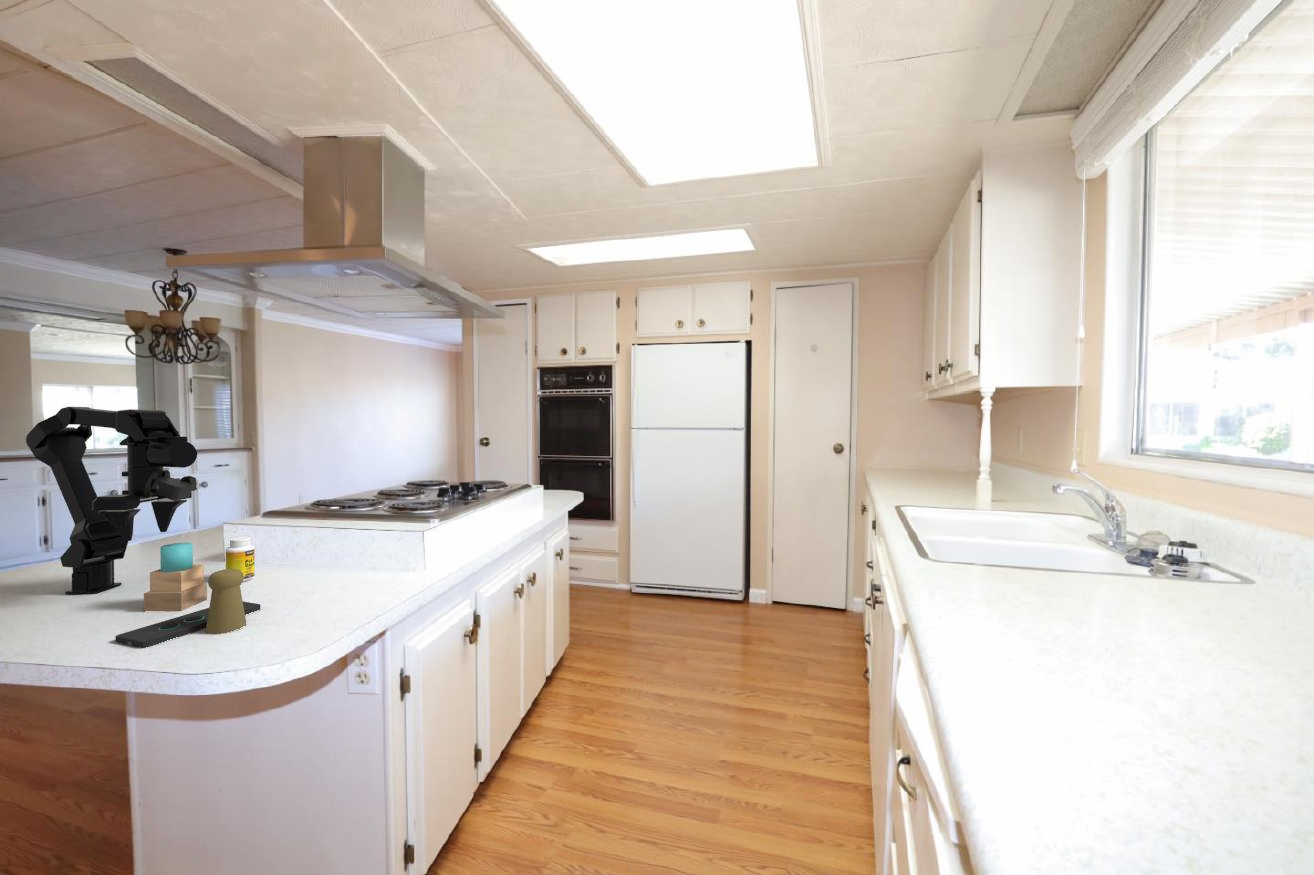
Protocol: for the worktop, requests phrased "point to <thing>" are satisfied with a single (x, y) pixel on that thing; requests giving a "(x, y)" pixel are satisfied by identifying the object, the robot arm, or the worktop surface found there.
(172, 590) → the oak top block
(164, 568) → the teal cylinder
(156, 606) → the brown wooden base block
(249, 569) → the supplement bottle
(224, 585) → the olive pawn piece
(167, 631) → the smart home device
